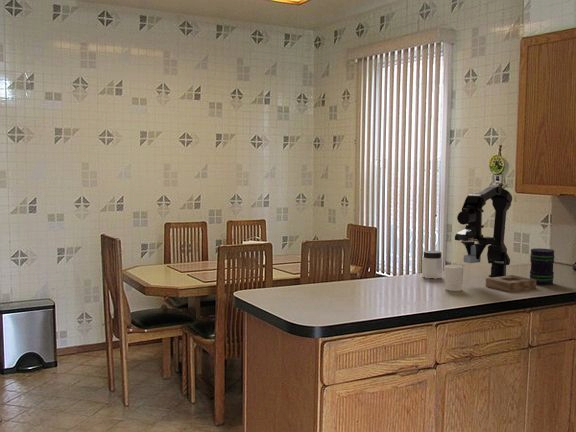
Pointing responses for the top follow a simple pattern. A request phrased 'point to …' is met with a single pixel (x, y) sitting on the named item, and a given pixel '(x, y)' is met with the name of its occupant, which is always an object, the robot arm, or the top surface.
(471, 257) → the grey stepped block
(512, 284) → the well block
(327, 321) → the top surface
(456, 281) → the white cup
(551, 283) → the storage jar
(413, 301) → the top surface
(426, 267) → the jar
